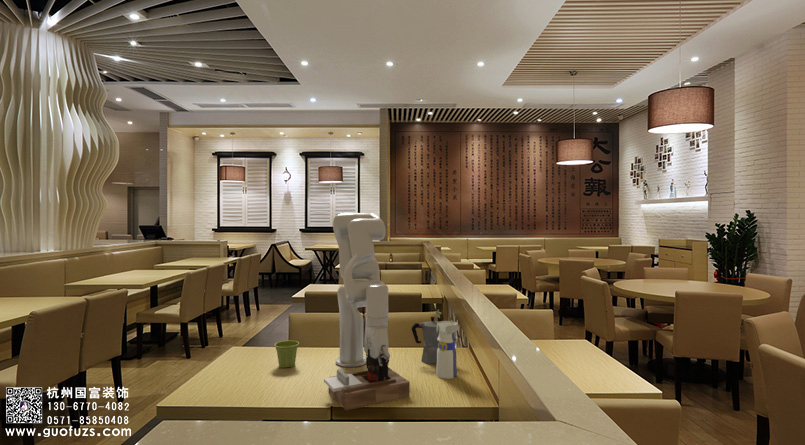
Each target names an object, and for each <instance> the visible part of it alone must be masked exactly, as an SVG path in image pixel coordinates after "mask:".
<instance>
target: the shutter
mask: <svg viewBox="0 0 805 445" xmlns="http://www.w3.org/2000/svg"><path fill="white" fill-rule="evenodd" d="M335 376H336V377H332V376H329V377H330V378H329V377H325V378H324V377H323V383H324V384H326V386H327V387H328V389H329V388H330V389H331V390H332V391H333V392H336V391H341V390H342V388H347V387H352V386H358V385H362V382H360V381H359V380H358V379H357V378H356V377H355V376H353V375H352V374H349V373H345V372H344V371H343V370H342V369H341V368H338V369H336V375H335Z"/></svg>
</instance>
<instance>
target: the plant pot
mask: <svg viewBox="0 0 805 445" xmlns="http://www.w3.org/2000/svg"><path fill="white" fill-rule="evenodd" d="M299 344H300V342H299V341H297V340H282V341H278V342H275V343H274V345H273V346H274V347H275V350H276V354H277V356H276V357H277V361H278V366H279V368H282V369H286V368H292V367H293V368H294V366H295V365H296V359H297V352H298V351H297V350H298V346H299Z"/></svg>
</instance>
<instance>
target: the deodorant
mask: <svg viewBox="0 0 805 445" xmlns="http://www.w3.org/2000/svg"><path fill="white" fill-rule="evenodd" d="M380 356H382V355H380ZM383 359H384V358H382V359H381V361H382V360H383ZM378 366H379V361H378V358H377V359H374V358H372V357H371V356H370V349H368V369H367V370H368V382H369V383H374V382H379V381H384V380H385V377H384V378H379V377H378Z"/></svg>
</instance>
